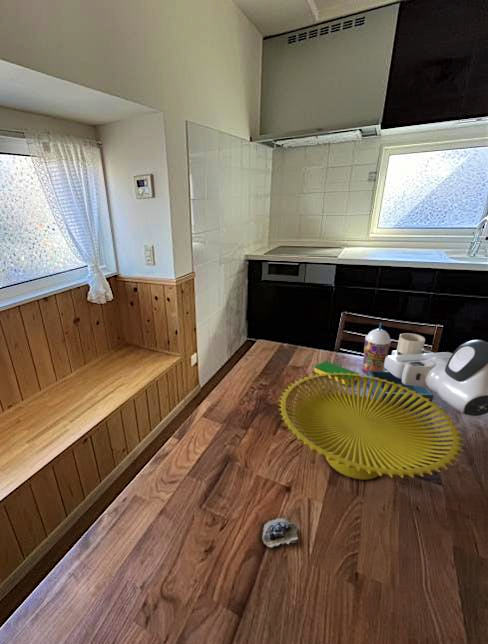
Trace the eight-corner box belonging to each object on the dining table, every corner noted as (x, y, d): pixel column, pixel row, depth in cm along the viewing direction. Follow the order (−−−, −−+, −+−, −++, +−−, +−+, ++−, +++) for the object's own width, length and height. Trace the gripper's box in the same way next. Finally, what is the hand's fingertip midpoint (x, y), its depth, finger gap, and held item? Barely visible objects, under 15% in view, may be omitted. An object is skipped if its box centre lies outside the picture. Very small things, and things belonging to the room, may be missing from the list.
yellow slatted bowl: (245, 464, 90) (246, 418, 84) (315, 397, 115) (319, 358, 109) (422, 571, 63) (441, 516, 57) (461, 453, 89) (478, 406, 82)
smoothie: (361, 375, 126) (369, 326, 118) (358, 364, 133) (366, 317, 125) (386, 378, 123) (396, 328, 115) (382, 367, 130) (391, 319, 122)
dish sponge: (348, 386, 120) (349, 380, 119) (313, 372, 130) (314, 366, 129) (358, 379, 124) (359, 373, 123) (324, 365, 134) (325, 360, 133)
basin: (410, 383, 119) (413, 371, 117) (430, 407, 106) (433, 395, 104) (366, 381, 122) (368, 370, 120) (380, 405, 109) (382, 393, 107)
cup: (411, 366, 112) (419, 333, 107) (420, 376, 106) (429, 342, 101) (389, 365, 113) (396, 333, 108) (397, 375, 107) (404, 341, 102)
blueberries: (304, 538, 70) (305, 532, 70) (276, 558, 67) (276, 552, 66) (281, 513, 76) (282, 508, 75) (253, 531, 72) (254, 525, 72)
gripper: (476, 361, 93) (441, 340, 106) (402, 365, 94) (376, 344, 106) (470, 381, 96) (437, 358, 108) (398, 385, 96) (373, 362, 109)
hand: (406, 351), depth 107 cm, fingers closed on cup, 7 cm apart
